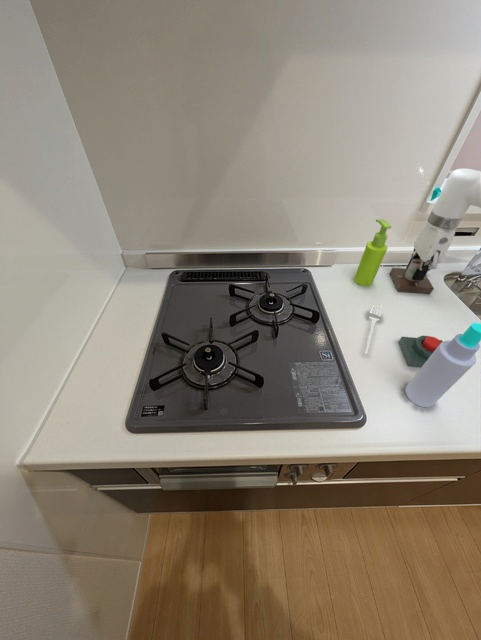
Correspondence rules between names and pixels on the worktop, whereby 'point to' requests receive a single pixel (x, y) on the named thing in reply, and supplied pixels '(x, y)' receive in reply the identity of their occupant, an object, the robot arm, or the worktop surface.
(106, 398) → the worktop surface
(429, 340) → the button
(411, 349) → the button housing
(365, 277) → the soap dispenser
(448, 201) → the robot arm
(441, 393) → the spray bottle
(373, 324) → the fork
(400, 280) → the brown flat block
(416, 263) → the dial
